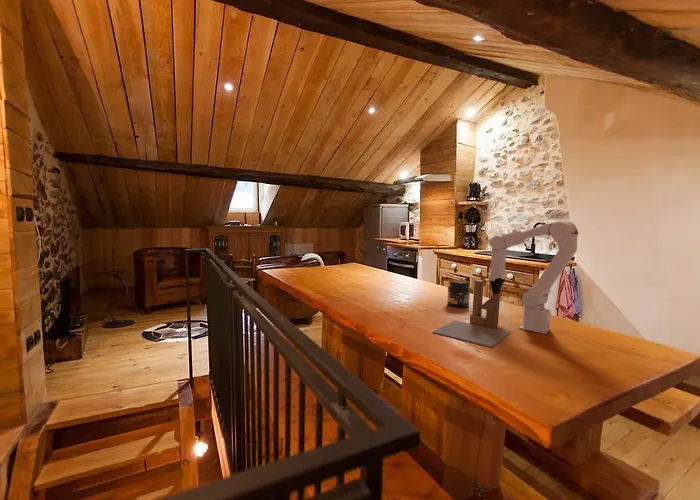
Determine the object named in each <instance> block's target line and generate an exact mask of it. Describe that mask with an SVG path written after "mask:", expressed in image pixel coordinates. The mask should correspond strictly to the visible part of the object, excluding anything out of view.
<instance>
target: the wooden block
mask: <svg viewBox="0 0 700 500" xmlns="http://www.w3.org/2000/svg"><path fill="white" fill-rule="evenodd" d="M484 282H485V281H484V280H481V279H475V280H474V283H473V284H474V285H473V299H472V313H471V314H470V315H469V324H473V325H478V326H483V327H487V328H492V329H496V330H498V327H499V315H500V304H501V303H500V302H501V293H499V294H495V295H492V296H491V297H490V298H488V299H487V301H485V302H484V303H483V298H484V297H483V296H484V284H485V283H484ZM483 310H485V315H483V314H482V313H483Z"/></svg>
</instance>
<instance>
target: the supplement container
mask: <svg viewBox="0 0 700 500" xmlns="http://www.w3.org/2000/svg"><path fill="white" fill-rule="evenodd" d="M448 284H449V286H448V287H447V301H446V303H447V305H448V306H450V307H452V308H458V309H464V308H468V307H469V306H470V298H471V296H470V295H471V294H470V293H471V288H470V281H468V280H462V279H450V280H449V281H448Z"/></svg>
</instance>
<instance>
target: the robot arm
mask: <svg viewBox="0 0 700 500" xmlns="http://www.w3.org/2000/svg"><path fill="white" fill-rule="evenodd" d="M579 234H580V233H579V231H578V228H577V226H576V225H575V223H573V222H572V221H555V222H551V223H545V224H541V225H539V226H536V227H533V228H530V229H528V230H524V231H522V230H520V229H513V230H511V232H508V233H501V235H494V236H492V237H491V239H490V241H489V246H490V248H491V256H490V258H491V259H490V271H489V272H487V276H489V277H488V282H489V284H490V288H491V292H492V293H491V294H492V296H494V295H495V294H501V289H502V287H503V285H504V283H505V282H506V278H505V277H506V260H507V249H508V248H511V247H515V246H519V245H522V244H524V243H525V241H526V240H528V239H531V238H536V237H541V236H544V235H545V236H549V237H550V236H551V238H552V239H553V240H554V241H555V242H556V244H557V247H558V250H557V251H556V253H555V255H554V256H553V258H552V259H551V260H550V262H549V264H548V265H547V267H546V268H545V270H544V271H543V272H542V274H541V275H540V277H539V279H538V280H537V282H536V283H535V284H534V285H532V286H531V287H530V289H528V291H526V292H524V293H523V295H522V296H521V297H522V298H521V300H522V304H523V316H522V317H523V318H522V325H520V326H519V329H520V330H525V331H530V332H535V333H538V334H539V333H540V334H543V335H544V334H547V333H548V332H549V331H550V330H551V329H550V327H551V316H552V315H551V313H552V311H551V310H550V309H547V308H545V304H546V303H547V302H548V300H549V295H550V294H551V288H552V287H553V286H554V284H555V283H556V281H557V279H558V278H559V277H560V276H561V274H562V272H563V271H564V269H565V268H566V267H567V265H568V264H569V262H570V261H571V260H572V258H573V257H574V255H575V254H576V252H577V250H578V236H579ZM504 278H505V279H504Z"/></svg>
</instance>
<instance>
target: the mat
mask: <svg viewBox="0 0 700 500" xmlns="http://www.w3.org/2000/svg"><path fill="white" fill-rule="evenodd" d="M432 334H436V335H439V336H443V337H447V338H451V339H455V340H458V341H463V342H468V343H471V344H475V345H479V346H483V347H487V348H490V349H492V348H494V347H495V346H496V345H498V344H499V343H500V342H501V341H502V340H504V339H505V338H506V337H508V336H509V335H510V334H511V333H510V332H509V331H505V330H500V329H492V328H487V327H483V326H480V325H476V324H473V323H470V322H464V321H460V320H453V321H451V322H449V323H447V324H445V325H443V326H441V327H440V328H438V329H435V330H433V331H432Z"/></svg>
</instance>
